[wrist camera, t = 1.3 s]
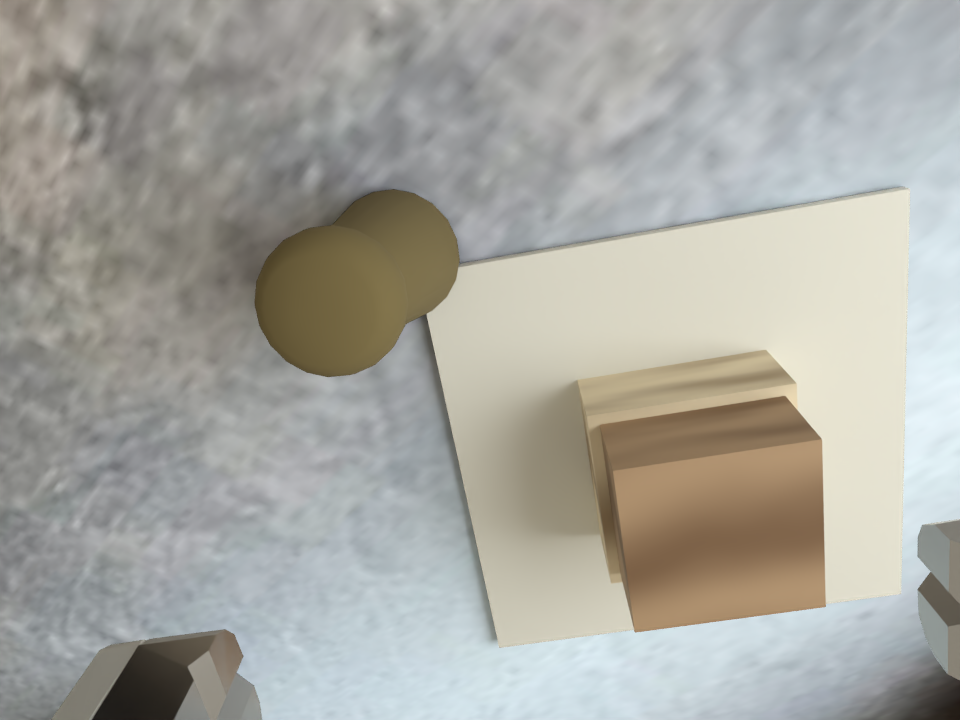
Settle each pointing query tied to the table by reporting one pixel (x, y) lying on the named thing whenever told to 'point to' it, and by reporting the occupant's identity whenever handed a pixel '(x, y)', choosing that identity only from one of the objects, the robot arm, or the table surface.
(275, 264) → the olive rounded upright piece
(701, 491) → the top block
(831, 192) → the table surface
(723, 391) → the bottom block
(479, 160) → the table surface
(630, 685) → the table surface
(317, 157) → the table surface
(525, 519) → the felt mat
